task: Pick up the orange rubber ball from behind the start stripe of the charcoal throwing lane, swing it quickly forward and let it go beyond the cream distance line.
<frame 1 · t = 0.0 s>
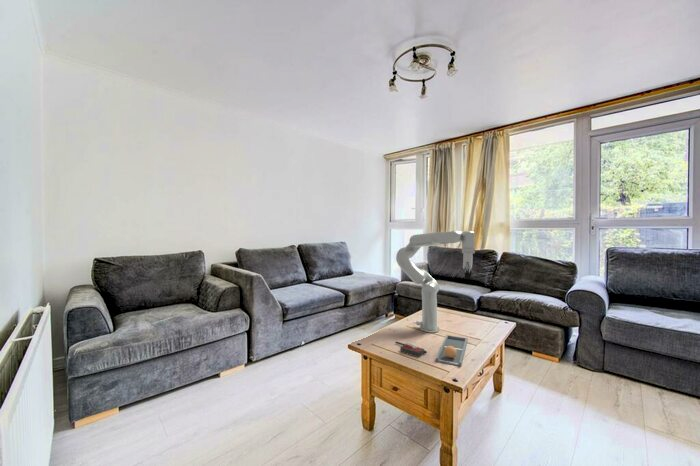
hand: (468, 277, 181), 37 cm above the table, tool pointing down, fingers open, 9 cm apart
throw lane: (453, 350, 160), on the table
ball: (450, 351, 151), point 3 cm above the table, touching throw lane
walkie-talkie: (408, 351, 161), on the table
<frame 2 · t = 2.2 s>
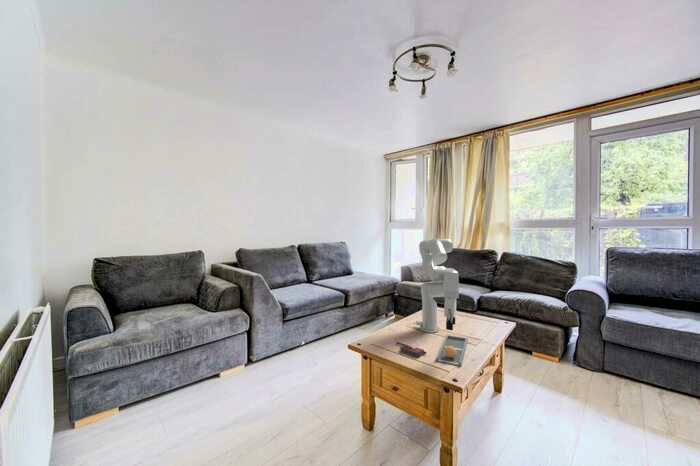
hand: (450, 326, 150), 17 cm above the table, tool pointing down, fingers open, 9 cm apart
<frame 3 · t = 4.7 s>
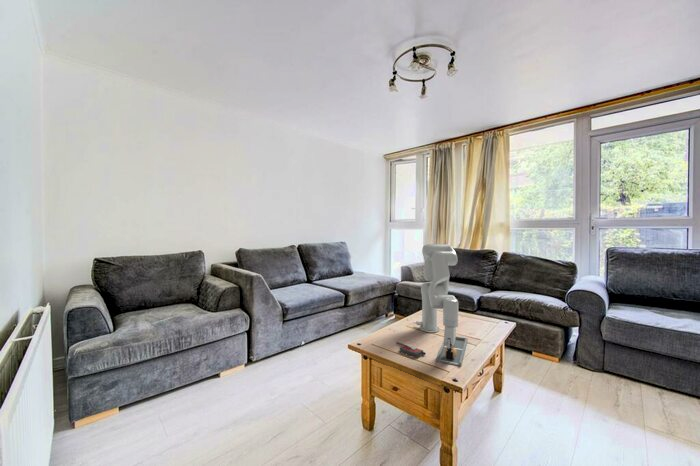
hand: (450, 356, 151), 1 cm above the table, tool pointing down, fingers closed on ball, 5 cm apart
ball: (450, 351, 151), point 3 cm above the table, touching gripper, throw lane
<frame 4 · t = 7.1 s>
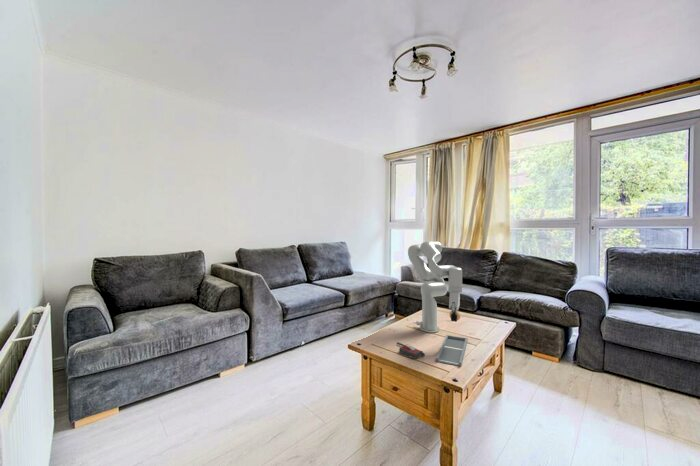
hand: (454, 319, 167), 15 cm above the table, tool pointing down, fingers closed on ball, 5 cm apart
ball: (454, 315, 167), point 17 cm above the table, touching gripper
when the fingers open (3 cm above the table, at t = 9.9 s): ball drops 2 cm, resting on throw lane.
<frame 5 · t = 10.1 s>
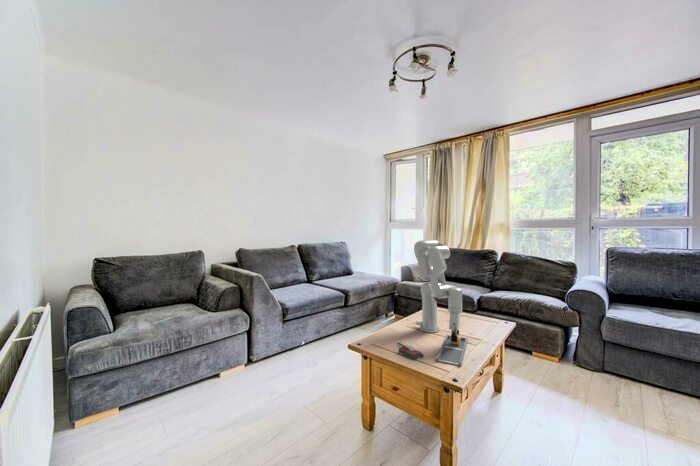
hand: (455, 338, 168), 4 cm above the table, tool pointing down, fingers open, 8 cm apart
ball: (455, 339, 168), point 3 cm above the table, touching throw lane
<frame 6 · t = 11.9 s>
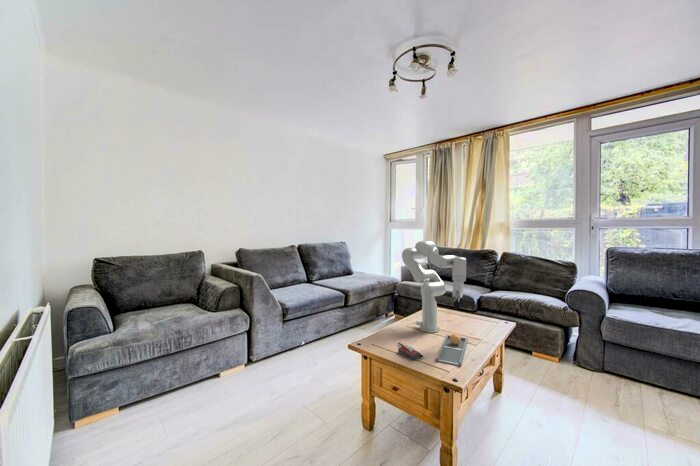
hand: (458, 306, 171), 22 cm above the table, tool pointing down, fingers open, 9 cm apart
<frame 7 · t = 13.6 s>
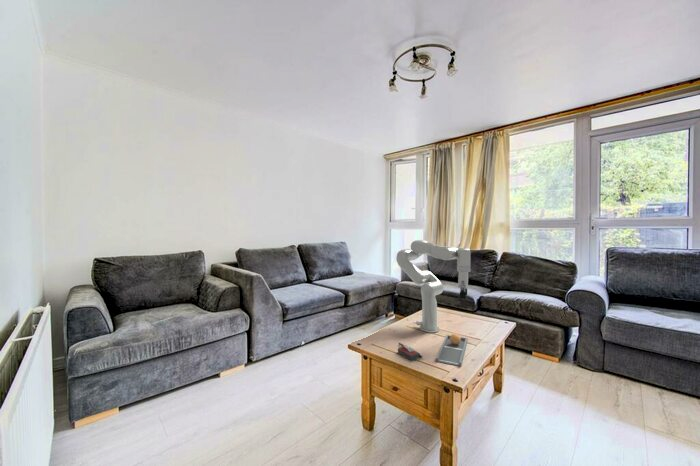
hand: (463, 296, 175), 26 cm above the table, tool pointing down, fingers open, 9 cm apart
at the end: ball inside the target area (3.4 cm from its centre), point 3.4 cm above the table; the gripper is holding nothing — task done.
